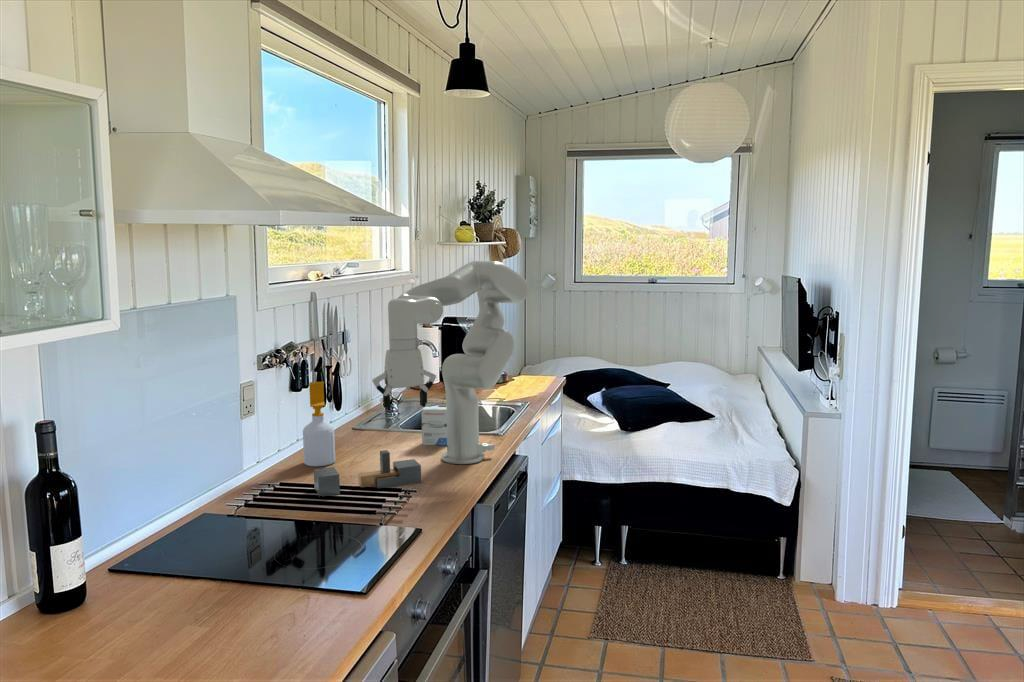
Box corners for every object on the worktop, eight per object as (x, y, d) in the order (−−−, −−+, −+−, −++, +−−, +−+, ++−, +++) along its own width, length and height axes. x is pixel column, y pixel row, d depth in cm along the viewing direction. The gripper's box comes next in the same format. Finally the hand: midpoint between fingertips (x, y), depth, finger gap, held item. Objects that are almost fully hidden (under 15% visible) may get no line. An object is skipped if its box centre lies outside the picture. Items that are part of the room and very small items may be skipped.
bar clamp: (414, 475, 217) (413, 457, 217) (421, 482, 210) (421, 464, 210) (314, 488, 207) (313, 469, 206) (319, 496, 200) (318, 477, 199)
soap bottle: (304, 468, 225) (300, 384, 222) (304, 459, 234) (300, 379, 230) (336, 465, 227) (332, 382, 224) (334, 457, 236) (331, 377, 233)
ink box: (451, 441, 253) (450, 406, 251) (448, 446, 248) (447, 409, 246) (425, 441, 253) (424, 405, 252) (421, 445, 249) (421, 409, 247)
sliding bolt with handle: (416, 476, 215) (415, 446, 214) (419, 479, 212) (418, 449, 211) (358, 484, 209) (357, 453, 208) (361, 487, 206) (360, 456, 205)
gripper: (430, 341, 215) (432, 402, 217) (368, 345, 208) (370, 407, 211) (438, 344, 208) (440, 407, 210) (374, 349, 201) (376, 413, 204)
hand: (405, 407), depth 210 cm, fingers open, 9 cm apart
